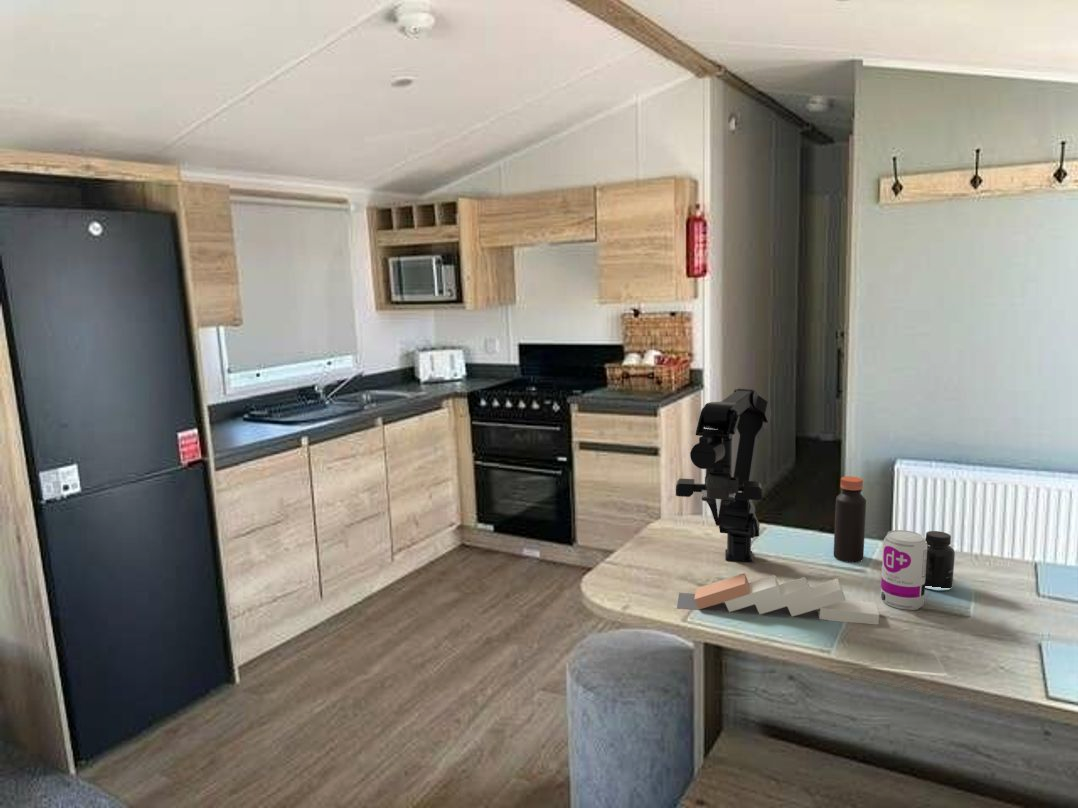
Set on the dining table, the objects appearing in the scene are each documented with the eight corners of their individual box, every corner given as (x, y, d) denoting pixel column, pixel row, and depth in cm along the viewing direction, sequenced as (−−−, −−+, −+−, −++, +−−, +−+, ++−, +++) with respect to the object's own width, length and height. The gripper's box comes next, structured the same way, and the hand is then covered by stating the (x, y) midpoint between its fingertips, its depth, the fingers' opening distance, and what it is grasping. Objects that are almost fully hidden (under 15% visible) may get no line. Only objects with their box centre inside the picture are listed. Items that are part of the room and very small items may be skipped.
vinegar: (837, 551, 188) (840, 473, 184) (866, 556, 184) (870, 477, 180) (830, 559, 182) (833, 480, 179) (859, 565, 178) (863, 484, 175)
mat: (679, 594, 165) (679, 592, 165) (823, 605, 158) (823, 603, 158) (676, 609, 157) (676, 608, 157) (828, 622, 150) (828, 620, 150)
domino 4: (820, 607, 150) (879, 614, 147) (817, 596, 155) (874, 602, 153) (819, 619, 151) (878, 626, 148) (816, 607, 156) (873, 613, 153)
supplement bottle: (956, 593, 162) (960, 540, 160) (922, 591, 163) (926, 538, 161) (946, 580, 168) (950, 529, 166) (913, 578, 170) (916, 528, 168)
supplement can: (906, 615, 152) (910, 545, 150) (871, 600, 159) (875, 533, 157) (932, 606, 156) (936, 538, 153) (897, 592, 163) (901, 526, 160)
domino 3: (787, 606, 152) (841, 589, 148) (785, 594, 157) (837, 578, 154) (791, 616, 152) (845, 600, 149) (790, 604, 157) (842, 588, 154)
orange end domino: (694, 599, 156) (744, 583, 153) (695, 588, 162) (744, 573, 158) (698, 609, 156) (749, 594, 153) (700, 598, 162) (749, 583, 158)
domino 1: (724, 601, 155) (776, 585, 151) (724, 590, 160) (774, 574, 157) (729, 612, 155) (780, 596, 152) (729, 600, 160) (779, 585, 157)
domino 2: (755, 604, 153) (807, 587, 150) (754, 592, 159) (805, 576, 155) (759, 614, 153) (812, 598, 150) (758, 603, 159) (809, 587, 155)
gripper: (674, 466, 162) (673, 534, 165) (763, 469, 158) (761, 539, 160) (677, 454, 173) (677, 518, 176) (761, 456, 168) (760, 523, 171)
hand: (717, 525), depth 170 cm, fingers closed
